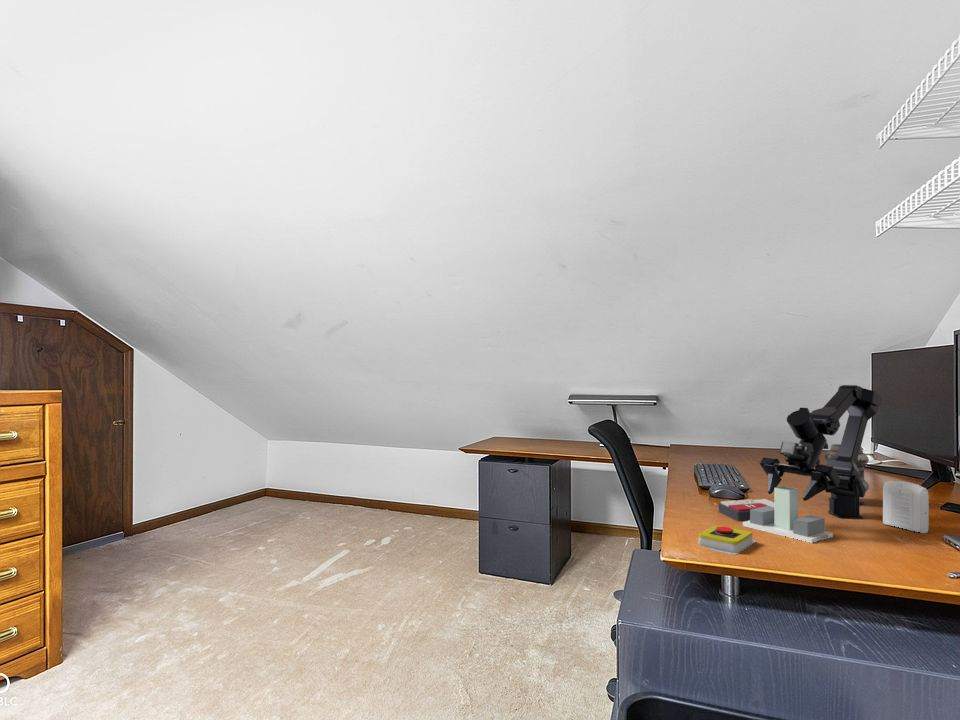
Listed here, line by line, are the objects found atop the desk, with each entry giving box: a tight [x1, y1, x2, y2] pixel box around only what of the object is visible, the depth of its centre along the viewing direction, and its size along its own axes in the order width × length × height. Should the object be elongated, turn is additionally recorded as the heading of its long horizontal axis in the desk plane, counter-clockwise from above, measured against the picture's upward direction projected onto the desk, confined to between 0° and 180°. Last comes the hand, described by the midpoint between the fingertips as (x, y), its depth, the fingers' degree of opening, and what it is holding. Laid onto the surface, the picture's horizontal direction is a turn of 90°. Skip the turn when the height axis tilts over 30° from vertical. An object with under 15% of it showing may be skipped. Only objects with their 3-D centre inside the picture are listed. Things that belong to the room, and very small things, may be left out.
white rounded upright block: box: [882, 480, 930, 534], centre depth 150 cm, size 10×4×12 cm, turn 23°
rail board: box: [742, 506, 834, 544], centre depth 147 cm, size 18×10×4 cm, turn 32°
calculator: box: [718, 498, 774, 522], centre depth 162 cm, size 11×4×15 cm
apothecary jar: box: [824, 443, 870, 506], centre depth 181 cm, size 12×12×18 cm
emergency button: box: [697, 525, 757, 556], centre depth 135 cm, size 9×4×15 cm
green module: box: [773, 485, 799, 530], centre depth 147 cm, size 4×4×10 cm
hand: (786, 496), depth 147 cm, fingers open, 9 cm apart
